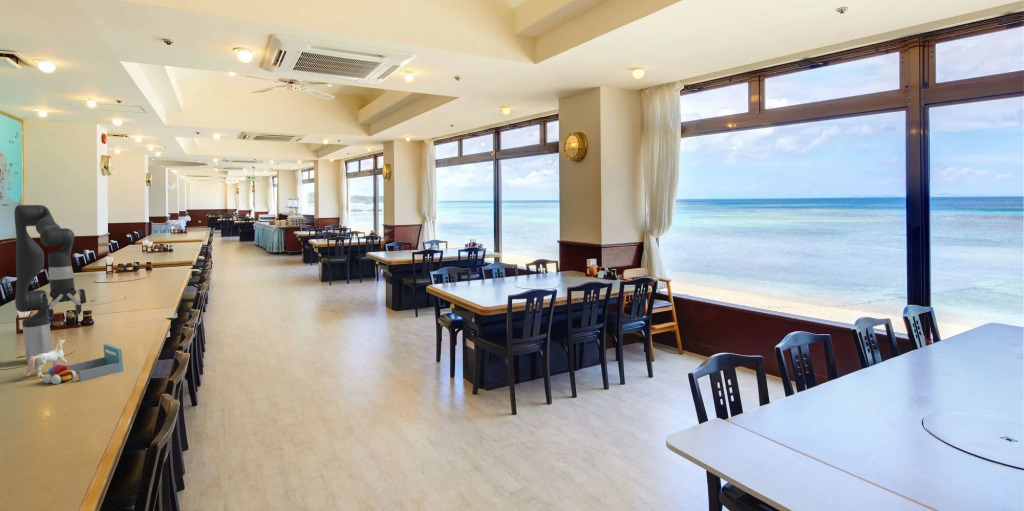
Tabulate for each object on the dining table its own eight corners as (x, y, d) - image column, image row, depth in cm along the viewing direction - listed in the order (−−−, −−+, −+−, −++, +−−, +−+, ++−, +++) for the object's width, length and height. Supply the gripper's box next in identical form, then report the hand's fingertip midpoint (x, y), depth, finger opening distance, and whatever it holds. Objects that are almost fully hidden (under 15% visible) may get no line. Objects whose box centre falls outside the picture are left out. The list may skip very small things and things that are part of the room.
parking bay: (66, 374, 222) (64, 352, 221) (108, 364, 235) (106, 343, 234) (80, 381, 214) (78, 358, 213) (123, 371, 227) (121, 349, 226)
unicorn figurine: (78, 365, 235) (75, 336, 233) (43, 380, 216) (39, 349, 214) (62, 365, 234) (59, 337, 233) (24, 380, 215) (21, 349, 214)
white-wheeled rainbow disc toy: (58, 385, 210) (56, 368, 209) (39, 384, 212) (37, 367, 211) (79, 378, 218) (78, 362, 217) (61, 377, 220) (59, 360, 219)
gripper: (79, 274, 219) (82, 311, 221) (35, 278, 207) (39, 318, 209) (86, 275, 215) (90, 313, 217) (42, 280, 203) (46, 320, 205)
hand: (65, 316), depth 213 cm, fingers open, 8 cm apart
